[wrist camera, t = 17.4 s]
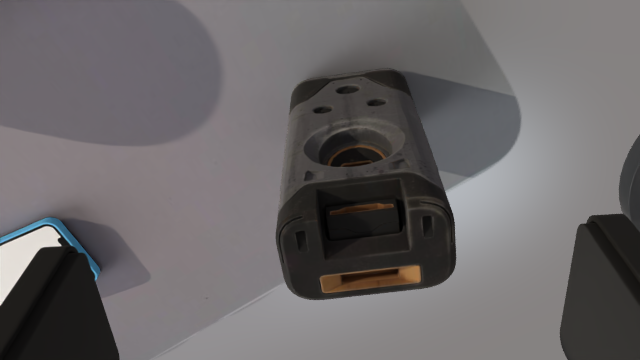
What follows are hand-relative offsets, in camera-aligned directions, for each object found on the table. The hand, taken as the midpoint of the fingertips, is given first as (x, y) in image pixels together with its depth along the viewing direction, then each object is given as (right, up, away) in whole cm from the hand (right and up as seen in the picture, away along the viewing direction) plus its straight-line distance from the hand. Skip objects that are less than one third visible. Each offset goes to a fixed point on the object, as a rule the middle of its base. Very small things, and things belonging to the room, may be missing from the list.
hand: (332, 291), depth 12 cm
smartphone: (-29, -6, +46) cm, 54 cm away
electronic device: (+2, +8, +37) cm, 38 cm away
